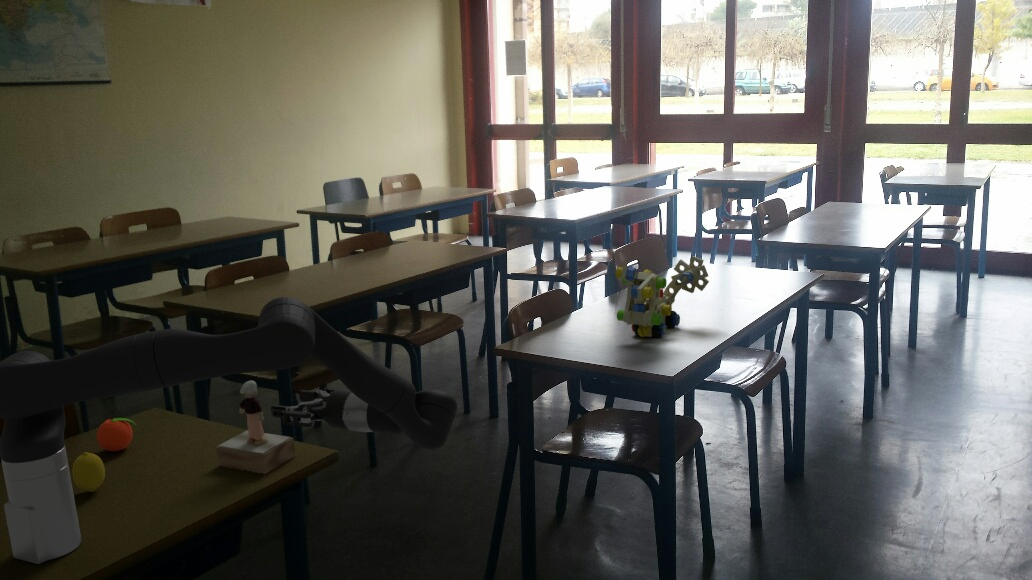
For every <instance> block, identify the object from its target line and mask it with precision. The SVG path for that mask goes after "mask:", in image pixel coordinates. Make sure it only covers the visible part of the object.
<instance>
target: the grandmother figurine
mask: <svg viewBox="0 0 1032 580" xmlns="http://www.w3.org/2000/svg"><path fill="white" fill-rule="evenodd" d="M257 387H258V385H257V382H256V381H254V380H248V381H246V382H244V383H243V384H242V386H241V388H240V390H239V394H241V395H244V397H245V398H244V399H242V400H241V402H240V403H239V411H238V412H239V414H244V413H245V414H246V417H247V418H246V423H247V430H248V434H249V439H248V440H247V443H253V442H254V445H261V444H265V443H267V442H268V440H267V439H266V438H263V436H264V433H265V432H264V428H263V425H262V423H263V421H265V417H264V413H263V408H262V407H261V404H260V403H261V402H260V401H259V399H257V398H256V397H257V395H258V389H257Z"/></svg>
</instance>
